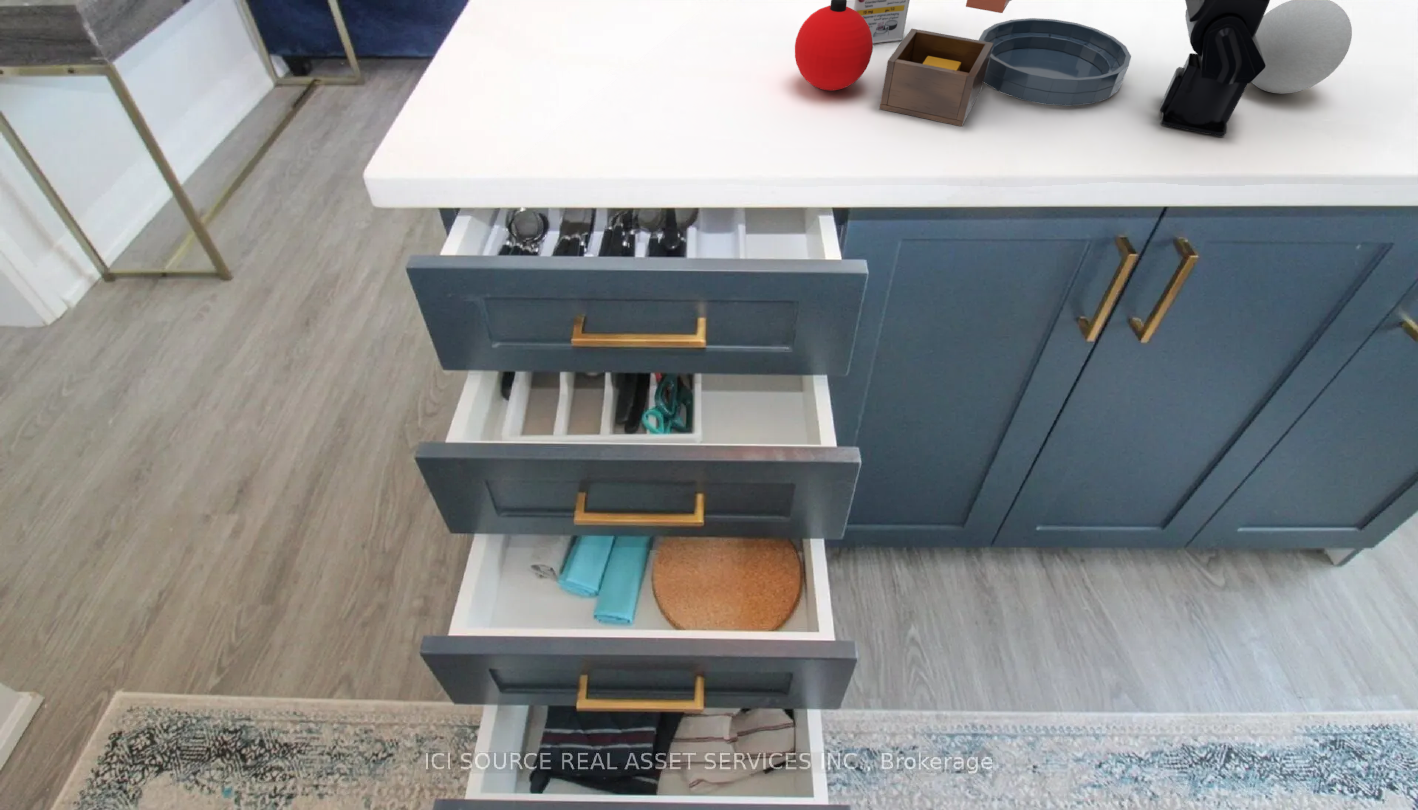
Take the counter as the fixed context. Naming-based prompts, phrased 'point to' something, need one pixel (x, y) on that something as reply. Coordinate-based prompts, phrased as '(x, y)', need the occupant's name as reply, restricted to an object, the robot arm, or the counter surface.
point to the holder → (935, 77)
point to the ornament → (833, 47)
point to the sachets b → (988, 5)
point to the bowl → (1054, 61)
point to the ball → (1301, 44)
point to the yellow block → (942, 63)
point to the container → (882, 17)
